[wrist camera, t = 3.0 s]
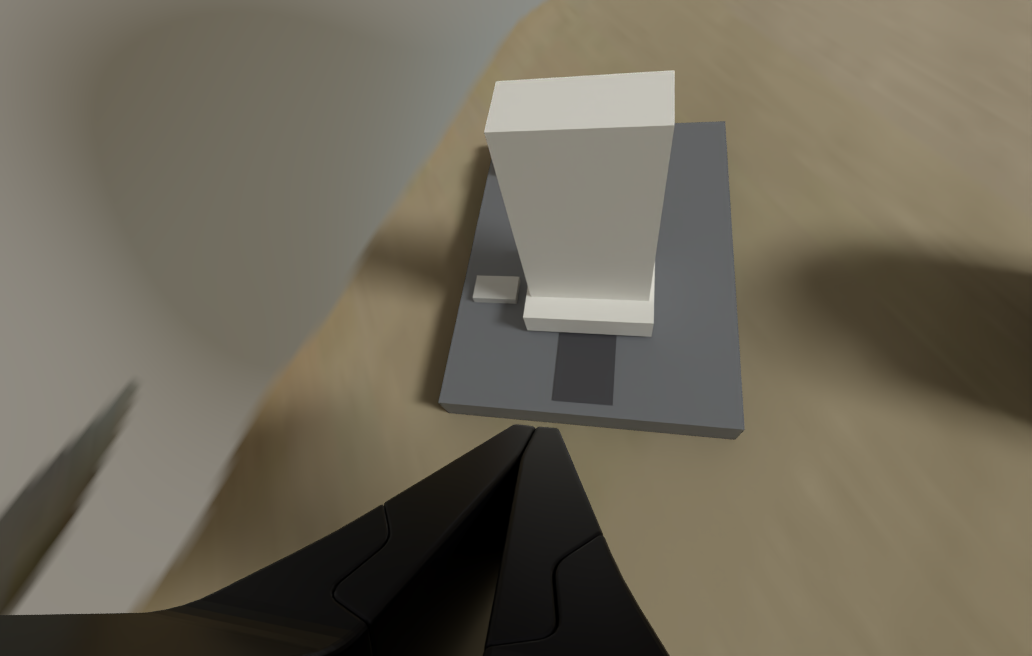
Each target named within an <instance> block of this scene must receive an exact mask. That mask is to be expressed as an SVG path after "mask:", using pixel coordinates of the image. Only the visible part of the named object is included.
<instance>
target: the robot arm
mask: <svg viewBox="0 0 1032 656" xmlns="http://www.w3.org/2000/svg"><path fill="white" fill-rule="evenodd" d="M0 656H670V655H669V654H668V652H667V651H666V649H665V647H664V646H663V644H662V643H661V641H660V639H659V638H658V636H657V634H656V633H655V631H654V630H653V628H652V626H651V625H650V623H649V622H648V620H647V618H646V617H645V615H644V613H643V612H642V610H641V609H640V607H639V605H638V603H637V602H636V600H635V598H634V596H633V595H632V593H631V591H630V590H629V588H628V586H627V584H626V583H625V581H624V579H623V577H622V575H621V573H620V571H619V569H618V566H617V564H616V562H615V560H614V558H613V556H612V554H611V552H610V549H609V547H608V544H607V542H606V540H605V538H604V537H603V533H602V531H601V528H600V526H599V524H598V521H597V519H596V517H595V514H594V512H593V509H592V507H591V505H590V502H589V500H588V498H587V495H586V493H585V491H584V488H583V486H582V483H581V481H580V479H579V476H578V474H577V472H576V469H575V467H574V464H573V462H572V460H571V457H570V455H569V453H568V450H567V448H566V445H565V443H564V441H563V438H562V436H561V434H560V431H559V430H558V429H557V428H548V427H537V428H536V429H535V427H533V426H527V425H517V424H516V425H513V426H511V427H509V428H507V429H506V430H504V431H502V432H501V433H499V434H497V435H496V436H494V437H493V438H491V439H489V440H488V441H486V442H484V443H483V444H481V445H479V446H478V447H476V448H474V449H473V450H471V451H469V452H468V453H466V454H464V455H463V456H461V457H459V458H458V459H456V460H454V461H453V462H451V463H449V464H448V465H446V466H444V467H443V468H441V469H439V470H438V471H436V472H435V473H433V474H431V475H430V476H428V477H426V478H425V479H423V480H421V481H420V482H418V483H416V484H415V485H413V486H411V487H410V488H408V489H406V490H405V491H403V492H401V493H400V494H398V495H396V496H395V497H393V498H391V499H390V500H388V501H386V502H385V503H384V506H383V505H380V506H378V507H376V508H375V509H373V510H371V511H370V512H368V513H366V514H365V515H363V516H361V517H359V518H358V519H356V520H354V521H353V522H351V523H349V524H347V525H346V526H344V527H342V528H340V529H339V530H337V531H335V532H333V533H331V534H329V535H327V536H326V537H324V538H322V539H320V540H318V541H316V542H314V543H312V544H310V545H308V546H306V547H305V548H303V549H301V550H299V551H297V552H295V553H293V554H291V555H289V556H287V557H285V558H283V559H281V560H279V561H277V562H275V563H273V564H271V565H269V566H267V567H265V568H263V569H261V570H259V571H257V572H255V573H253V574H251V575H249V576H247V577H245V578H243V579H241V580H239V581H237V582H235V583H233V584H231V585H229V586H227V587H225V588H223V589H221V590H219V591H217V592H215V593H212V594H210V595H208V596H206V597H204V598H202V599H199V600H196V601H194V602H191V603H188V604H185V605H182V606H178V607H174V608H170V609H166V610H161V611H154V612H148V613H120V614H119V613H116V614H60V615H59V614H56V615H0Z"/></svg>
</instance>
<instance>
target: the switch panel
mask: <svg viewBox="0 0 1032 656" xmlns="http://www.w3.org/2000/svg"><path fill="white" fill-rule="evenodd" d="M527 288H528V285H527V281H526V278H525V274H524V271H523V267H522V264H521V260H520V257H519V253H518V250H517V246H516V243H515V239H514V236H513V232H512V229H511V225H510V222H509V218H508V214H507V211H506V207H505V204H504V200H503V197H502V193H501V190H500V186H499V183H498V179H497V176H496V172H495V169H494V165H493V162H492V158H491V163H490V168H489V172H488V177H487V181H486V186H485V191H484V195H483V200H482V204H481V209H480V213H479V218H478V223H477V227H476V232H475V236H474V241H473V246H472V250H471V255H470V259H469V264H468V269H467V273H466V278H465V282H464V287H463V292H462V296H461V301H460V305H459V310H458V315H457V319H456V324H455V328H454V333H453V338H452V342H451V347H450V351H449V356H448V360H447V365H446V370H445V374H444V379H443V383H442V388H441V393H440V397H439V402H438V403H439V404H440V405H441V406H442V407H443V408H444V409H445V410H446V411H447V412H448V413H455V414H466V415H477V416H488V417H498V418H509V419H520V420H531V421H541V422H552V423H563V424H573V425H584V426H595V427H606V428H616V429H627V430H638V431H648V432H659V433H670V434H681V435H691V436H702V437H713V438H724V439H734V440H735V439H736V438H737V437H738V436H739V435H740V434H741V433H742V432H743V431H744V430H745V429H744V414H743V398H742V382H741V366H740V350H739V335H738V319H737V303H736V287H735V271H734V255H733V240H732V224H731V208H730V192H729V176H728V161H727V145H726V129H725V121H723V122H697V123H674V132H673V139H672V146H671V153H670V160H669V166H668V173H667V180H666V187H665V194H664V201H663V208H662V215H661V222H660V228H659V235H658V242H657V249H656V256H655V285H654V325H653V330H652V336H651V337H645V336H626V335H607V334H588V333H569V332H550V331H531V330H527V328H526V325H525V322H524V319H523V314H524V308H525V301H526V295H527Z"/></svg>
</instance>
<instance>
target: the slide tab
mask: <svg viewBox="0 0 1032 656" xmlns="http://www.w3.org/2000/svg"><path fill="white" fill-rule="evenodd" d="M673 132H674V70H672V71H655V72H639V73H623V74H607V75H590V76H574V77H558V78H542V79H525V80H509V81H496V84H495V88H494V93H493V97H492V101H491V105H490V110H489V114H488V118H487V123H486V127H485V131H484V134H485V137H486V141H487V144H488V148H489V151H490V155H491V158H492V162H493V165H494V169H495V172H496V176H497V179H498V183H499V186H500V190H501V193H502V197H503V200H504V204H505V207H506V211H507V214H508V218H509V222H510V225H511V229H512V232H513V236H514V239H515V243H516V246H517V250H518V253H519V257H520V260H521V264H522V267H523V271H524V274H525V278H526V281H527V285H528V288H527V295H526V301H525V308H524V314H523V319H524V322H525V325H526V328H527V330H531V331H550V332H569V333H588V334H607V335H626V336H645V337H651V336H652V330H653V325H654V285H655V256H656V249H657V242H658V235H659V228H660V222H661V215H662V208H663V201H664V194H665V187H666V180H667V173H668V166H669V160H670V153H671V146H672V139H673Z"/></svg>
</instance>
